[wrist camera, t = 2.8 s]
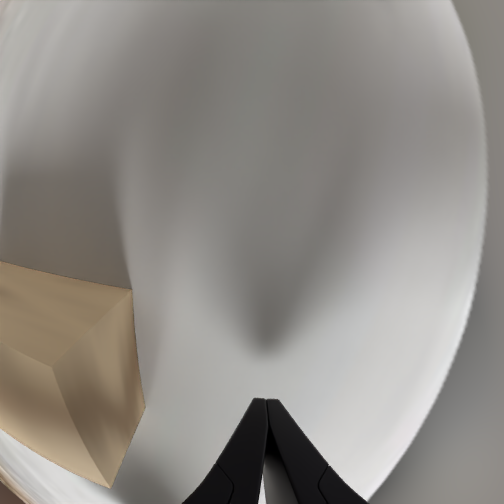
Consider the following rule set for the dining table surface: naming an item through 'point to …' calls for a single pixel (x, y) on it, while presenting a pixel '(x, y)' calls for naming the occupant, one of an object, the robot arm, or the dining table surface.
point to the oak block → (69, 370)
